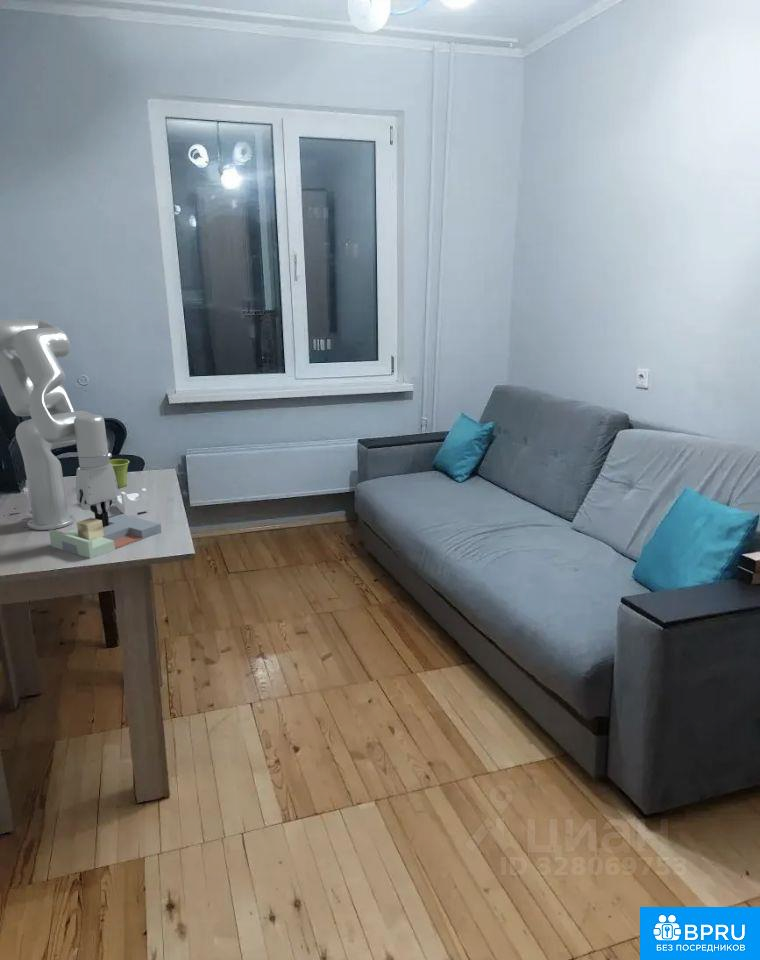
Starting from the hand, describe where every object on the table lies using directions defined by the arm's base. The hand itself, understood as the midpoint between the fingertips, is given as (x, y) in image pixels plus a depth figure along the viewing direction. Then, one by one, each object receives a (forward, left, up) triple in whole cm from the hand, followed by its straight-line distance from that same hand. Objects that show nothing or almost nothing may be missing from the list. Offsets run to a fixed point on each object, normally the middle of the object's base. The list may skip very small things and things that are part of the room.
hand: (102, 525), depth 188 cm
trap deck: (0, +1, -4) cm, 5 cm away
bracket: (-17, +22, -5) cm, 28 cm away
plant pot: (-43, +37, -5) cm, 57 cm away
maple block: (+1, -4, -2) cm, 5 cm away
